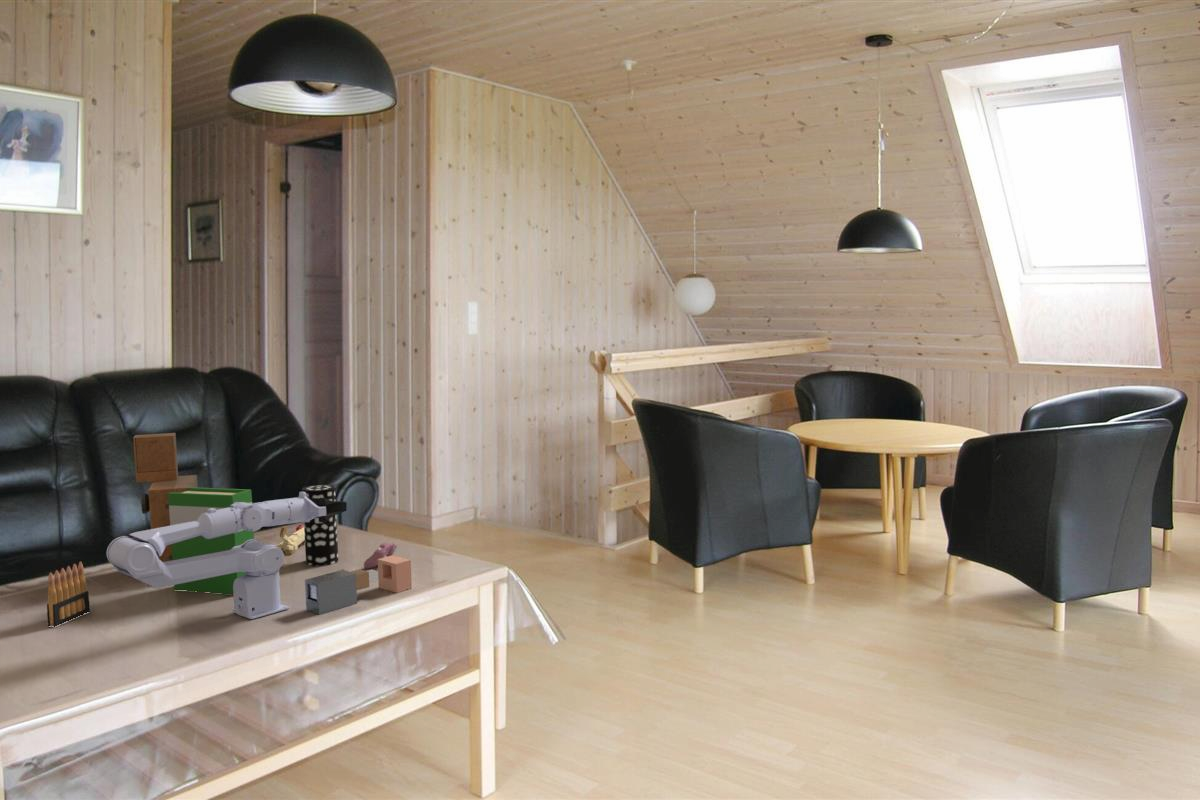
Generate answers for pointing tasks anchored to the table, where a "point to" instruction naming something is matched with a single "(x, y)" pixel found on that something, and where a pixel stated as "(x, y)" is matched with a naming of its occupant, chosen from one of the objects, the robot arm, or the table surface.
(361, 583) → the tube
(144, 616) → the table surface
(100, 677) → the table surface
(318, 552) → the white-spotted black cylinder
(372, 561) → the video game controller
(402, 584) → the socket block
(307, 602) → the outer sleeve
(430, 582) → the table surface
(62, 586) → the ammunition clip
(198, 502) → the hardback book
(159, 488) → the brown stacked box shape
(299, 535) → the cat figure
